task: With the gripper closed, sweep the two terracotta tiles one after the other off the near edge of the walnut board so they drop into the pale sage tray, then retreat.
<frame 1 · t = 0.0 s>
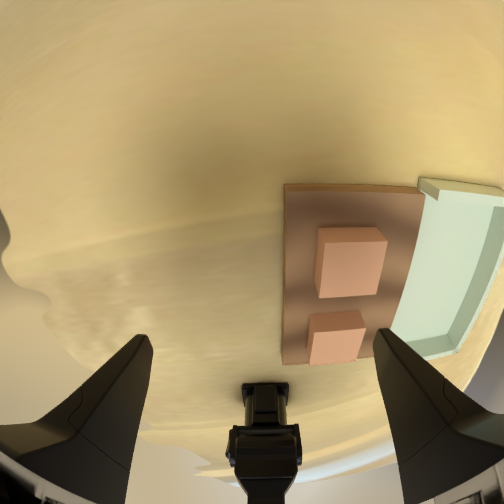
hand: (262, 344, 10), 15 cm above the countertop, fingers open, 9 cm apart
walnut board: (343, 283, 27), on the countertop
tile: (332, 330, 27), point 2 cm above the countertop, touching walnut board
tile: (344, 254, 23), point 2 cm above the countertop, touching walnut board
sage tray: (441, 275, 26), on the countertop
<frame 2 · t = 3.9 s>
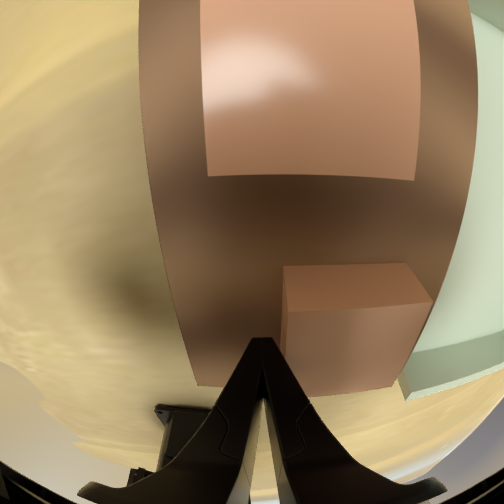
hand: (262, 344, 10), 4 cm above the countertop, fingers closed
walnut board: (319, 196, 11), on the countertop
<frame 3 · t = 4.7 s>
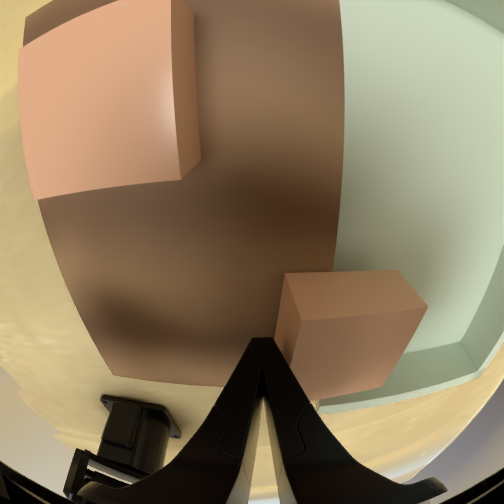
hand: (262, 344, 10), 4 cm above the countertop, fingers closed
walnut board: (179, 200, 11), on the countertop
sage tray: (449, 202, 11), on the countertop
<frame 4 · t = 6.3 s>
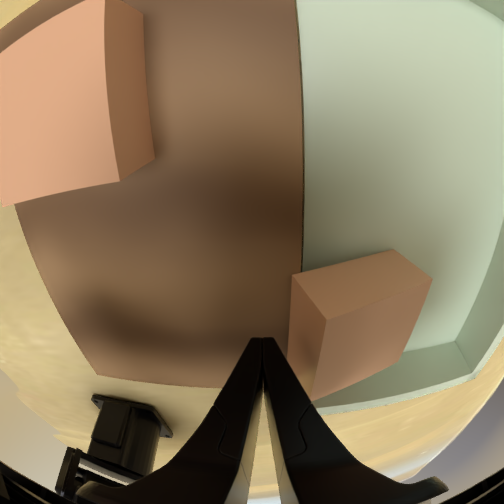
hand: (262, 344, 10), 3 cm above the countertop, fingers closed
walnut board: (146, 200, 11), on the countertop
sage tray: (435, 193, 10), on the countertop
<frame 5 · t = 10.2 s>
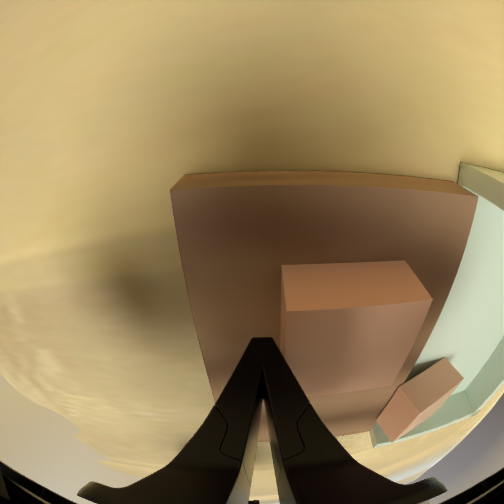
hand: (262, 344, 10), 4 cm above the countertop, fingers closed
walnut board: (315, 347, 15), on the countertop
sage tray: (474, 324, 15), on the countertop
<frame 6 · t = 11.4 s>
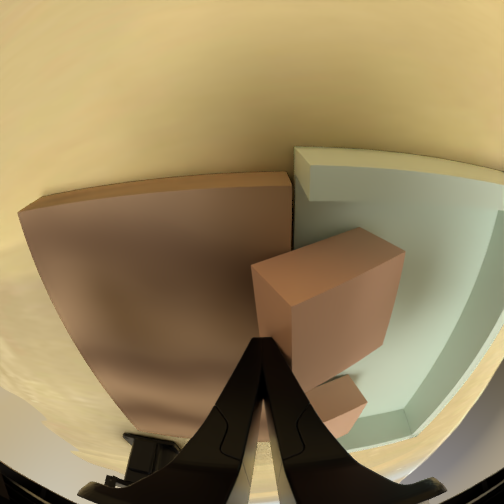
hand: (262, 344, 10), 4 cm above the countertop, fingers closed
walnut board: (179, 348, 16), on the countertop
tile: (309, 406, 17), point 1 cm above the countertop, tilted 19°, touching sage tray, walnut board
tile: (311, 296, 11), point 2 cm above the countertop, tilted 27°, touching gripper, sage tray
sage tray: (385, 340, 15), on the countertop
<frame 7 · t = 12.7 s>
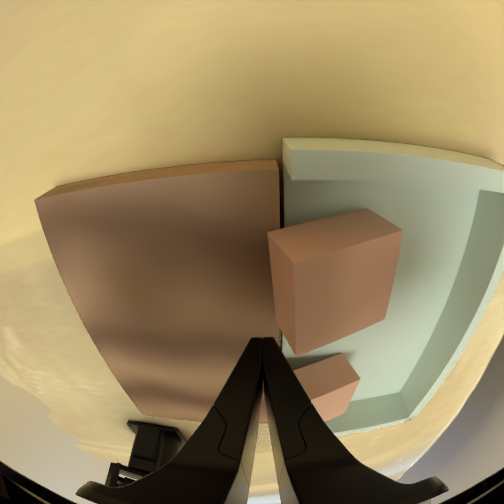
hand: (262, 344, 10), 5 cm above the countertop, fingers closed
walnut board: (182, 327, 17), on the countertop
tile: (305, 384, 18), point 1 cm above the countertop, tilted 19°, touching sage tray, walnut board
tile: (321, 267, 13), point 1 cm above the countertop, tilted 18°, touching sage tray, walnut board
sage tray: (376, 319, 16), on the countertop
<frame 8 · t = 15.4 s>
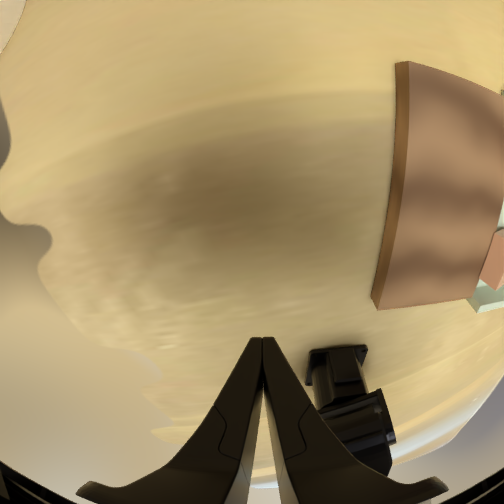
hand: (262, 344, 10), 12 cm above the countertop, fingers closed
walnut board: (447, 195, 19), on the countertop
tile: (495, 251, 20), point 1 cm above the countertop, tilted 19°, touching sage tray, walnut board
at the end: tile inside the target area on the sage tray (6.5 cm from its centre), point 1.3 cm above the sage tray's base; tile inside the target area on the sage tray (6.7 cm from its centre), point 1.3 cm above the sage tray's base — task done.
